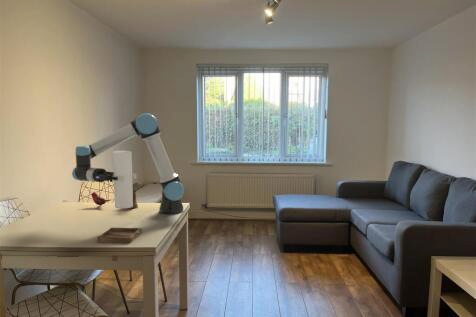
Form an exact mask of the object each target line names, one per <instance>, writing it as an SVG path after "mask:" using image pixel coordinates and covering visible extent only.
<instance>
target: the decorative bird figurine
mask: <svg viewBox="0 0 476 317" xmlns="http://www.w3.org/2000/svg"><path fill="white" fill-rule="evenodd" d="M91 198H92V200H93V203H95V204H96V207H97V208H102V206H103V205H105V204H107V202H111V199H106V198H104V197H101V196H100V195H98V193H96V191H95V192H94V191H93V192H92V193H91Z"/></svg>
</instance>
